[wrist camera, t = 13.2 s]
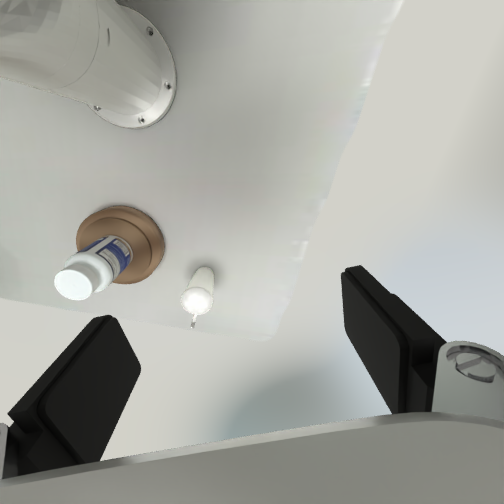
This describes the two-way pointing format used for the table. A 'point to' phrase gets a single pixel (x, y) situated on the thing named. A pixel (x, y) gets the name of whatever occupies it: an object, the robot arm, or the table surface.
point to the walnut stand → (126, 239)
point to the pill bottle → (93, 268)
